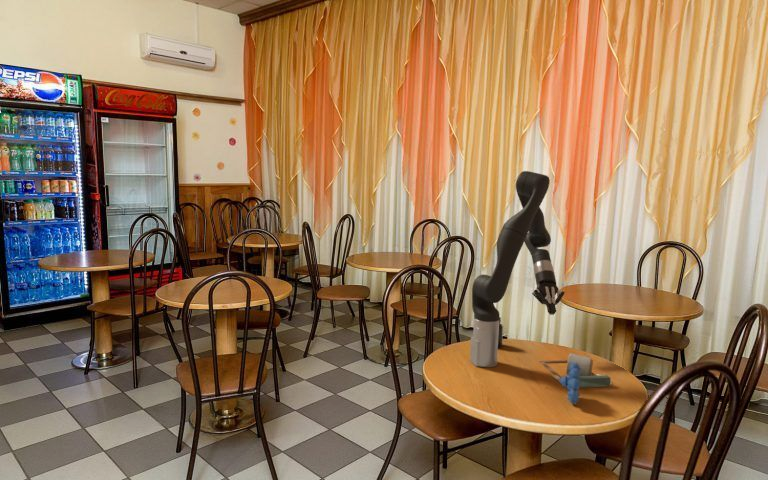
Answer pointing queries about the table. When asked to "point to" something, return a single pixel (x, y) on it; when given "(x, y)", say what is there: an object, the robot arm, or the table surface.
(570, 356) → the ceramic mug
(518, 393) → the table surface
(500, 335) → the supplement bottle
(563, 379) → the grapes
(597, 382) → the bay
